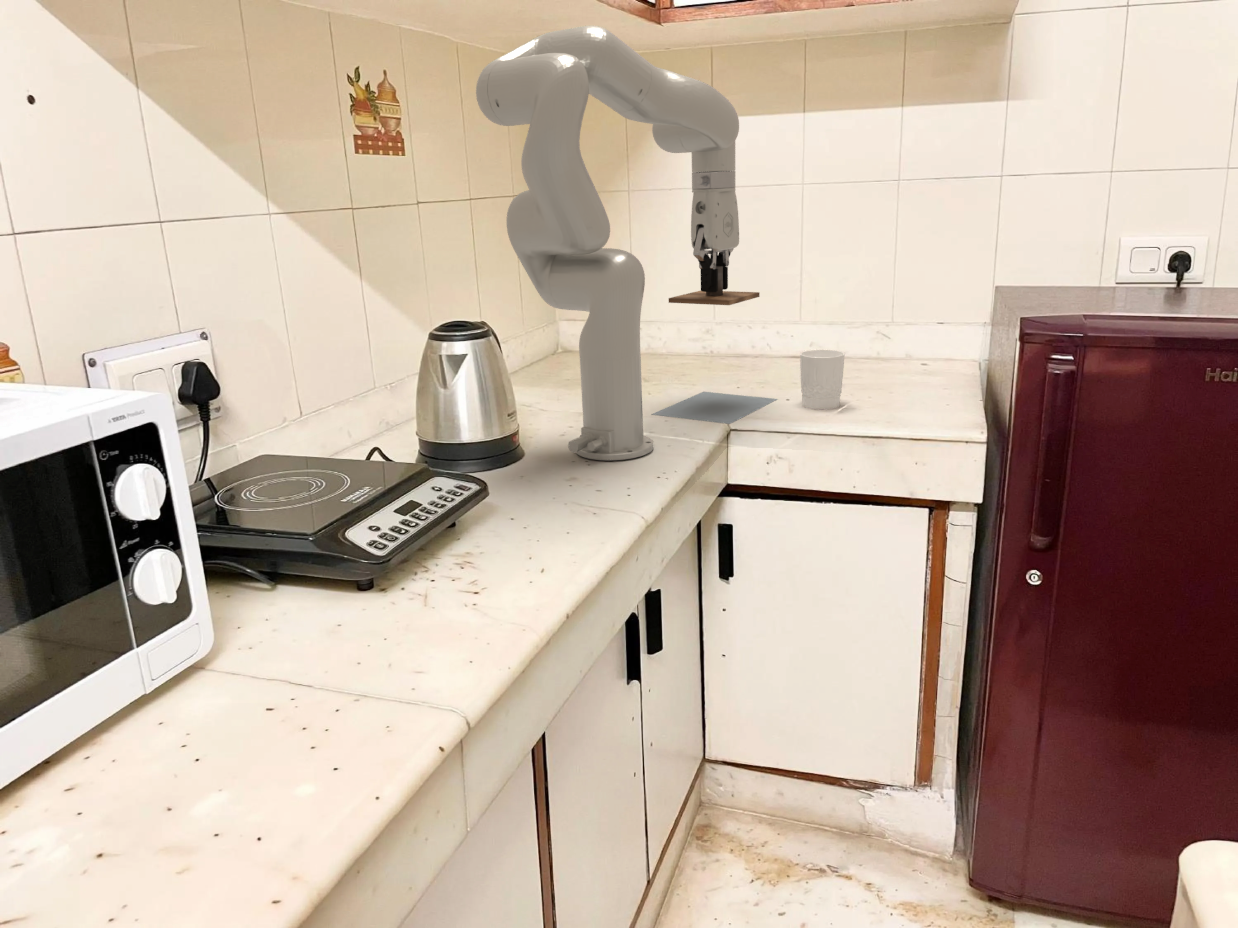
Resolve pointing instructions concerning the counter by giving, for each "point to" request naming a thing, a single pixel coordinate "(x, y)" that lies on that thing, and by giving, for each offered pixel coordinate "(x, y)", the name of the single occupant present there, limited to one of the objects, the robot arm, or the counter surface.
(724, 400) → the rubber mat
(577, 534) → the counter surface
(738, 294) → the walnut cover
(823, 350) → the white cup
